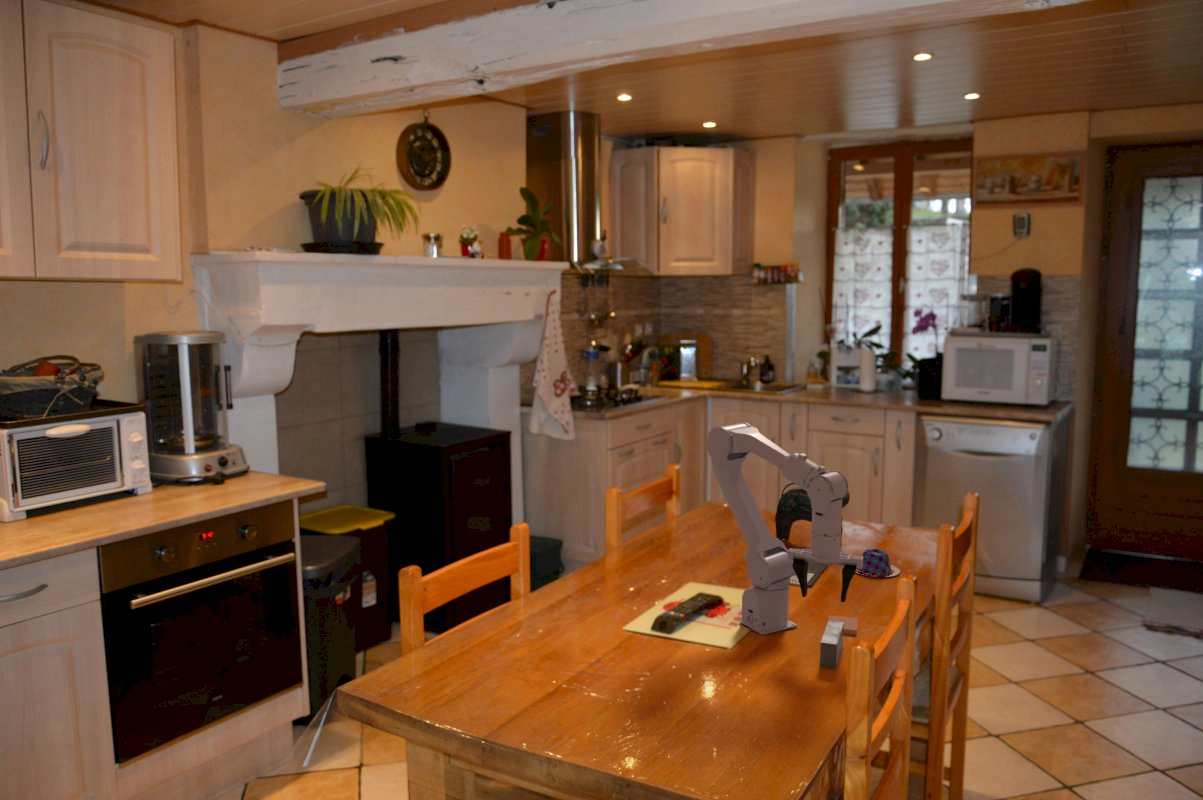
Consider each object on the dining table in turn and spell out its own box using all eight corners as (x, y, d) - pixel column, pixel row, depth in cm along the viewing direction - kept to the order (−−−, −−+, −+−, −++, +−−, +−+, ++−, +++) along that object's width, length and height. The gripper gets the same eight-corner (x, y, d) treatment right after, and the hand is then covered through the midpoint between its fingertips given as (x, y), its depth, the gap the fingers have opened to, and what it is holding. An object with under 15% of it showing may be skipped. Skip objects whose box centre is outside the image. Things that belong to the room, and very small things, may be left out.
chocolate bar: (828, 564, 233) (811, 585, 217) (827, 567, 234) (811, 589, 218) (793, 559, 237) (774, 580, 221) (792, 563, 238) (773, 583, 222)
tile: (856, 630, 189) (857, 618, 196) (826, 627, 191) (829, 615, 197) (856, 637, 189) (857, 624, 196) (826, 633, 191) (828, 621, 198)
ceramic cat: (848, 546, 251) (851, 474, 248) (841, 552, 246) (844, 478, 243) (779, 535, 261) (781, 466, 259) (771, 540, 256) (773, 470, 253)
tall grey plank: (835, 669, 173) (836, 644, 172) (819, 667, 174) (820, 642, 173) (842, 646, 184) (843, 622, 183) (827, 643, 185) (828, 620, 184)
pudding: (908, 578, 225) (909, 557, 224) (863, 581, 223) (864, 560, 222) (885, 563, 237) (886, 543, 236) (842, 565, 235) (842, 545, 234)
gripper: (785, 533, 181) (783, 599, 183) (861, 541, 176) (858, 609, 178) (792, 524, 188) (790, 588, 190) (865, 532, 182) (862, 597, 184)
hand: (823, 598), depth 184 cm, fingers open, 7 cm apart
